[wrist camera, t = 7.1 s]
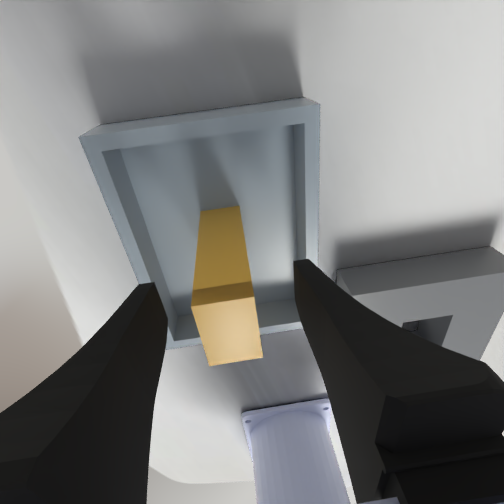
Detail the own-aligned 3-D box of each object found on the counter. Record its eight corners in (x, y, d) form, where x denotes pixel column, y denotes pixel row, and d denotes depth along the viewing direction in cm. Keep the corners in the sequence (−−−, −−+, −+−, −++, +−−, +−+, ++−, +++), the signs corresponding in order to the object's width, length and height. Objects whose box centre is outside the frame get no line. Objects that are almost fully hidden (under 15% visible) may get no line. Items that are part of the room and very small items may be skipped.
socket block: (450, 348, 24) (472, 375, 22) (331, 367, 24) (342, 396, 22) (490, 246, 19) (524, 269, 17) (337, 269, 19) (352, 295, 17)
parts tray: (306, 298, 20) (316, 326, 18) (171, 318, 20) (166, 349, 17) (303, 97, 13) (320, 103, 11) (100, 124, 13) (78, 137, 11)
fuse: (246, 254, 17) (263, 357, 11) (211, 259, 17) (209, 366, 11) (239, 205, 15) (254, 296, 9) (200, 211, 15) (190, 306, 9)
